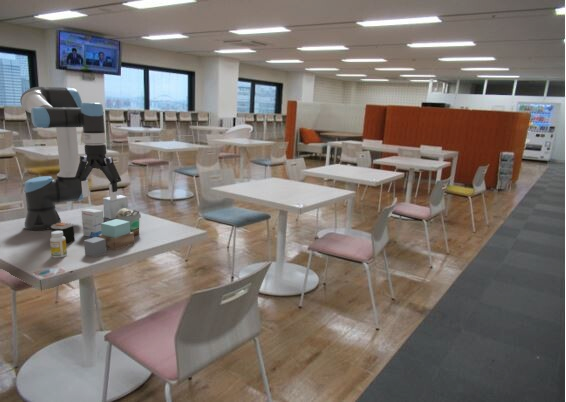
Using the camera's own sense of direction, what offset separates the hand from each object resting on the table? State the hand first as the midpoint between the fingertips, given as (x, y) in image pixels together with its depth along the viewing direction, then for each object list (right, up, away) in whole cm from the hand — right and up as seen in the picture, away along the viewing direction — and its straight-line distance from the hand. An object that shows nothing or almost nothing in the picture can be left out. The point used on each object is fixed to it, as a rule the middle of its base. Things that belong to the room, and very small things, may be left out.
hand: (99, 198), depth 160 cm
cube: (-2, -22, +2) cm, 22 cm away
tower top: (+2, -15, +12) cm, 19 cm away
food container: (+4, -17, +26) cm, 31 cm away
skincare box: (-16, -9, +54) cm, 57 cm away
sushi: (-22, -19, +15) cm, 33 cm away
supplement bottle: (-15, -23, -1) cm, 27 cm away
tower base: (+2, -20, +13) cm, 24 cm away
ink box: (-13, -17, +24) cm, 32 cm away
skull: (-6, -13, +43) cm, 45 cm away
